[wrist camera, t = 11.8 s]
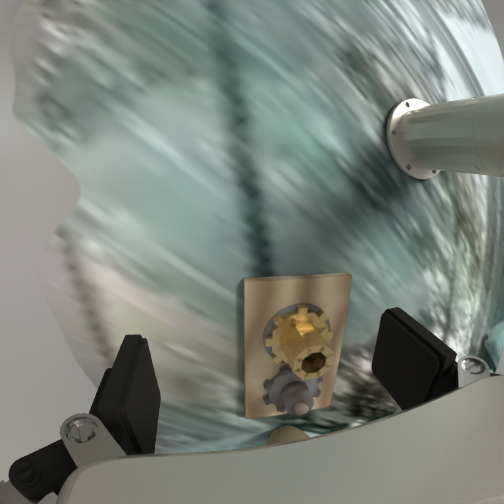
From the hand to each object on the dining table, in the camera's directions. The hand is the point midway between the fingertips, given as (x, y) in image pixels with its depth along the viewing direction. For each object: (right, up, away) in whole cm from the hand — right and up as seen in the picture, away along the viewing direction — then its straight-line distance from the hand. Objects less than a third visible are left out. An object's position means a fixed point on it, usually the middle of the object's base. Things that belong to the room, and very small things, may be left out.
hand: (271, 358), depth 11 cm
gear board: (+5, -11, +33) cm, 35 cm away
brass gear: (+6, -8, +30) cm, 32 cm away
